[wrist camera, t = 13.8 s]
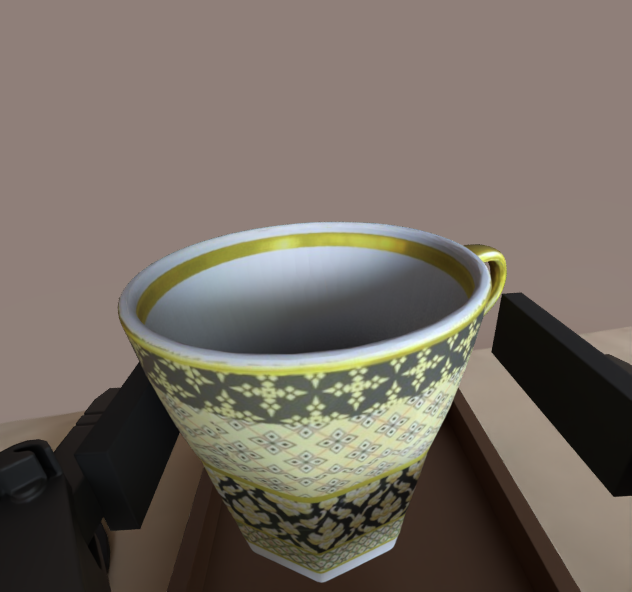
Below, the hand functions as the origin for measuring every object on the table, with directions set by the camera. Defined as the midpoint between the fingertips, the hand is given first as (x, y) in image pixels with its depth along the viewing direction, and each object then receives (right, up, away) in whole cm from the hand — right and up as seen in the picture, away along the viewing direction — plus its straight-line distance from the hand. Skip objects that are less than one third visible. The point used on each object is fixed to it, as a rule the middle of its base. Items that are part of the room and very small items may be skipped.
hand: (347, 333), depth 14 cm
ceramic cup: (0, -6, +1) cm, 6 cm away
